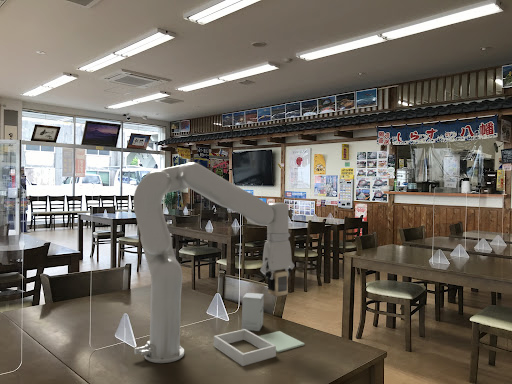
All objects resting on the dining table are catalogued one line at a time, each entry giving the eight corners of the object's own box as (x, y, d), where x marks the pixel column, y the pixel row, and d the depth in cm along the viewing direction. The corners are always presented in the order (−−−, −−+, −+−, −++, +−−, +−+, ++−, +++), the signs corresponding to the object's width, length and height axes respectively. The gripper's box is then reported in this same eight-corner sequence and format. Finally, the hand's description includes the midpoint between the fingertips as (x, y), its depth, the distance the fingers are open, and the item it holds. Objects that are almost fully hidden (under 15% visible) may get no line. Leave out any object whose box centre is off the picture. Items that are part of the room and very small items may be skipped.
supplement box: (259, 331, 152) (260, 298, 151) (241, 329, 153) (241, 297, 153) (263, 325, 159) (264, 293, 159) (245, 323, 160) (246, 292, 160)
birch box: (267, 293, 141) (267, 270, 141) (278, 290, 144) (278, 269, 144) (277, 296, 137) (277, 273, 137) (288, 294, 140) (288, 271, 140)
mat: (277, 352, 133) (277, 350, 133) (253, 338, 144) (253, 337, 144) (304, 345, 140) (304, 343, 140) (279, 332, 151) (279, 330, 151)
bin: (242, 366, 122) (242, 354, 122) (213, 346, 137) (213, 335, 137) (275, 356, 130) (275, 345, 129) (244, 338, 144) (245, 328, 144)
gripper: (289, 234, 148) (289, 282, 149) (251, 238, 138) (252, 290, 139) (302, 236, 142) (302, 287, 142) (264, 240, 132) (264, 295, 133)
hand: (277, 288), depth 141 cm, fingers closed on birch box, 5 cm apart
